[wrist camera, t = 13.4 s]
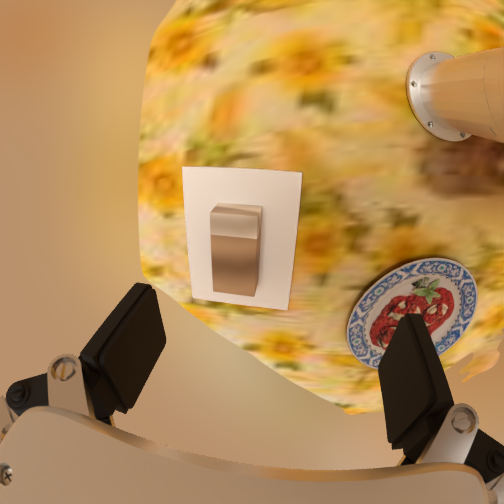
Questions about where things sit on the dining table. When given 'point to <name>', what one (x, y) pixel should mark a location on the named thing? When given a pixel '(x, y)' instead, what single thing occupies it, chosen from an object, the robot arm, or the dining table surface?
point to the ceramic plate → (413, 307)
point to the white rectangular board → (272, 227)
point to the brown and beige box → (235, 248)
